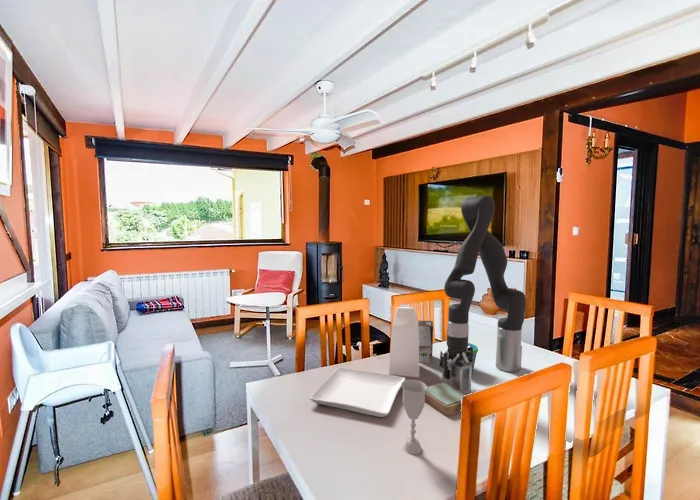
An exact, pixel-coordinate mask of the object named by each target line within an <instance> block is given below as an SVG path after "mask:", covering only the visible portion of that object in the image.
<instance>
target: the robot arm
mask: <svg viewBox="0 0 700 500" xmlns="http://www.w3.org/2000/svg"><path fill="white" fill-rule="evenodd" d="M460 210H461V215H462V217H463V220H464V222H465V224H466V226H467V228H468V229H469V232H470V233H469V234H468V236H467V237H466V238H465V239H464V241H463V242H462V243H461V245H460V247H459V249H458V252H457V254H456V255H457V256H456V260H455V262H454V263H455V264H454V266H453V268H452V270H451V272H450V274H449V275H448V277H447V278H446V280H445V283H444V288H443V290H444V293H445V295H446V296H447V297H449V298H453V299H459V300H460V303H454V304H451V305H449V306H448V315H447V316H448V317H447V318H448V319H447V326H446V327H447V329H446V346H447V350H446V351H443V350H440V354H439V367H440V368H443V369H444V377H445V378H446V379H448V380H449V379H450V368H451V366H452V365H454V363H455V362H457V361H461V360H464V361H466V362H468V363H470V362H473V347H471V346H468V343H469V330H470V329H469V328H470V327H469V326H470V325H469V315H470V313H469V312H470V308H471V305H472V302H473V300H474V296H475V292H476V287H475V284H474V282H472V281H471V280H468V279H463V277H464V276H469V275H472V274H474V273H475V270H476V266H477V261H478V257H480V260H481V263H482V265H483V268H484V270H485V272H486V276H487V279H488V282H489V284H490V290H491V294H492V298H493V302H494V304H495V306H496V307H497V308H498V309H500V310H503V311H505V312H507V315H506V317H501V318H499V319H498V320H497V329H496V330H497V331H496V334H497V335H496V353H495V354H496V355H495V356H496V357H495V367H496V368H497V369H498V370H500V371H503V372H507V373H516V372H520V370H521V368H522V357H523V356H522V355H523V346H522V333H523V332H522V330H523V325H524V321H525V316H526V315H525V314H526V304H527V298H526V295H525V293H524V292H523V291H521V290H518V289H514V288H509V286H508V285H507V283H506V280H505V272H506V270H507V266H508V257H507V255H506V252H505V248H504V246H503V244H502V243H501V242H500V240H499V239H497V238H496V236H494V235H493V234H492V233H491V232H490V231H489V230H488V229H489V228H490V225H491V223H492V220H493V218H494V215H495V211H496V204H495V201H494V199H493V197H491V196H489V195H478V196H470V197H466V198H463V200H462V201H461V205H460ZM465 353H466V355H465ZM469 356H470V358H469ZM449 359H451V360H452V361H450V360H449ZM443 363H444V364H443ZM448 363H449V365H448ZM447 365H448V366H447Z"/></svg>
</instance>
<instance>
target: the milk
mask: <svg viewBox="0 0 700 500" xmlns="http://www.w3.org/2000/svg"><path fill="white" fill-rule="evenodd" d="M418 322H419V320H418V317H417V314H416V311H415V309H414V307H405V306H403V307H402V306H398V307H397V310H396V312H395V314H394V318H393V321H392V326H391V334H390V347H389V348H390V352H389V365H388V375H393V376H399V377H414V378H420V362H419V325H418Z"/></svg>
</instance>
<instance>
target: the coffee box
mask: <svg viewBox="0 0 700 500" xmlns="http://www.w3.org/2000/svg"><path fill="white" fill-rule="evenodd" d="M433 322H434V321H433V320H418V325H419V363H424V364H427V363H428V364H432V363H433V349H434V348H433V347H434V345H433V344H434V343H433V342H434V323H433Z"/></svg>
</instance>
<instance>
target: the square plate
mask: <svg viewBox="0 0 700 500" xmlns="http://www.w3.org/2000/svg"><path fill="white" fill-rule="evenodd" d="M403 381H406V378H405V376H399V375H389V373H381V372H377V371H370V370H369V371H368V370H363V369H357V368H348V367H342V366H341V367H340V366H339V367H337V368H336V369H335V370H334V371H333V372H332V373H331V375H329V376H328V377H327V379H326V380H324V382H323V383H322V384H321V385H320V386H319V387H318V388H317V389H316V390H315V391H314V392H313V393H312V394H311V395H310V396H309V400H310V401H312V403H313V402H314V403H315V404H318V405H322V406H327V407H331V408H338V409H341V410H347V411H351V412H356V413H360V414H364V415H368V416H374V417H379V418H385V417H386V416H388V415H390V412H391V410H392V408H393V404H394V402H395V399H396V398H397V395H398V393H399V392H400V390H401V388H402V386H401V384H402V382H403Z"/></svg>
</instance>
